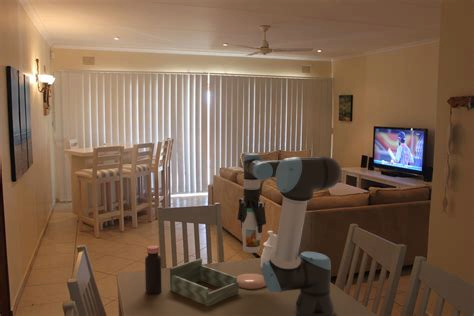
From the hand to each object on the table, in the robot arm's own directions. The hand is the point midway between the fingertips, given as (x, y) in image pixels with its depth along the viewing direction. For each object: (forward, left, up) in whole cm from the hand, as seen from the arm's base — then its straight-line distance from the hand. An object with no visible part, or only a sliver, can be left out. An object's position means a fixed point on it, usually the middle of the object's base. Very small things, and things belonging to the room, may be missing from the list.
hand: (251, 237), depth 206 cm
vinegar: (+24, +37, -21) cm, 49 cm away
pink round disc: (0, 0, -21) cm, 21 cm away
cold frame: (+8, +22, -21) cm, 31 cm away
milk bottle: (0, 0, -6) cm, 6 cm away
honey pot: (+6, -24, -21) cm, 32 cm away
